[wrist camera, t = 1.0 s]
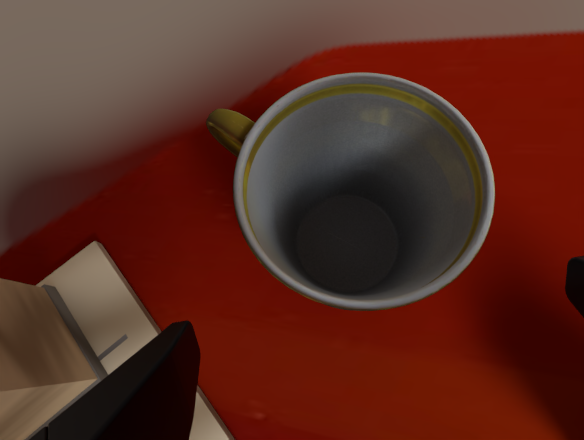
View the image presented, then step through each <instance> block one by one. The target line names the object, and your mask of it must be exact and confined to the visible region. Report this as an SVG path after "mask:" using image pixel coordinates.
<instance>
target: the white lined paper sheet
mask: <svg viewBox="0 0 584 440" xmlns="http://www.w3.org/2000/svg"><path fill="white" fill-rule="evenodd" d="M44 284H45V285H50V286H54V287H56V289H57V291H58V292H59V294H60V296H61V297H62V299H63V301H64V302H65V304H66V306H67V307H68V309H69V311H70V312H71V314H72V316H73V317H74V319H75V321H76V322H77V324H78V326H79V327H80V329H81V330H82V332H83V334H84V335H85V337H86V339H87V340H88V342H89V344H90V345H91V347H92V349H93V350H94V352H95V354H96V355H97V357H98V359H99V360H100V362H101V364H102V365H103V367H104V369H105V370H106V372H107V374H108V375H109V374H110V373H111V372H113V371H114V370H115V369H116V368H118V367H119V366H120V365H121V364H122V363H124V362H125V361H126V360H127V359H129V358H130V357H131V356H132V355H134V354H135V353H136V352H137V351H139V350H140V349H141V348H142V347H143V346H145V345H146V344H147V343H148V342H150V341H151V340H152V339H153V338H155V337H156V336H157V335H158V334H160V333H161V330H160V329H159V327H158V326H157V325H156V323H155V322H154V320H153V319H152V317H151V316H150V314H149V313H148V311H147V310H146V308H145V307H144V305H143V304H142V303H141V301H140V300H139V298H138V297H137V295H136V294H135V292H134V291H133V289H132V288H131V286H130V285H129V283H128V282H127V281H126V279H125V278H124V276H123V275H122V273H121V272H120V270H119V269H118V267H117V266H116V264H115V263H114V261H113V260H112V259H111V257H110V256H109V254H108V253H107V251H106V250H105V248H104V247H103V245H102V244H101V243H99V242H97V241H93V242H92V243H91V244H90V245H88V246H87V247H86V248H84V249H83V250H82V251H80V252H79V253H78V254H76V255H75V256H74V257H72V258H71V259H70V260H68V261H67V262H66V263H65V264H63V265H62V266H61V267H59V268H58V269H57V270H55V271H54V272H53V273H51V274H50V275H49V276H47V277H46V278H45V279H44V280H42V281H41V282H40V283H38V284H37V285H36V286H38V287H41V286H42V285H44ZM189 440H235V439H234V438H233V436H232V435H231V433H230V432H229V430H228V429H227V427H226V426H225V424H224V423H223V421H222V420H221V418H220V417H219V416H218V414H217V413H216V411H215V410H214V408H213V407H212V405H211V404H210V402H209V401H208V399H207V398H206V396H205V395H204V394H203V392H202V391H201V389H200V388H199V386H198V385H197V393H196V402H195V411H194V418H193V423H192V428H191V433H190V437H189Z"/></svg>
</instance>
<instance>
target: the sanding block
mask: <svg viewBox="0 0 584 440" xmlns="http://www.w3.org/2000/svg"><path fill="white" fill-rule="evenodd" d="M106 376H108V374H107V372H106V370H105V369H104V367H103V365H102V364H101V362H100V360H99V359H98V357H97V355H96V354H95V352H94V350H93V349H92V347H91V345H90V344H89V342H88V340H87V339H86V337H85V335H84V334H83V332H82V330H81V329H80V327H79V326H78V324H77V322H76V321H75V319H74V317H73V316H72V314H71V312H70V311H69V309H68V307H67V306H66V304H65V302H64V301H63V299H62V297H61V296H60V294H59V292H58V291H57V289H56V287H54V286H50V285H45V284H44V285H42V286H41V287H38V286H33V285H29V284H24V283H20V282H15V281H11V280H6V279H1V278H0V440H29V439H30V438H31V437H32V436H33V435H35V434H36V433H37V432H38V431H40V430H41V429H42V428H43V427H45V426H47V427H48V424H49V423H50V422H51V421H52V420H53V419H55V418H56V417H57V416H58V415H59V414H61V413H62V412H63V411H64V410H66V409H67V408H68V407H69V406H71V405H72V404H73V403H74V402H76V401H77V400H78V399H79V398H80V397H82V396H83V395H84V394H85V393H87V392H88V391H89V390H90V389H92V388H93V387H94V386H95V385H97V384H98V383H99V382H100V381H101V380H103V379H104V378H105V377H106Z"/></svg>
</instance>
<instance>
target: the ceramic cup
mask: <svg viewBox="0 0 584 440" xmlns="http://www.w3.org/2000/svg"><path fill="white" fill-rule="evenodd" d="M206 125H207V128H208V130H209V131H210V133H211V134H212V135H213V137H214V138H215V139H216V140H217V141H218V142H219V143H220V144H222V145H223V146H224V147H225V148H226V149H228V150H229V151H230V152H231V153H233V154H234V155H235V156H236V157H238V158H237V161H236V166H235V171H234V180H233V200H234V206H235V212H236V216H237V220H238V223H239V226H240V229H241V231H242V234H243V236H244V238H245V240H246V242H247V244H248V245H249V247H250V249H251V251H252V252H253V254H254V255H255V256H256V258H257V259H258V260H259V261H260V263H261V264H262V265H263V266H264V267H265V268H266V269H267V270H268V271H269V272H270V273H271V274H272V275H273V276H274V277H275V278H277V279H278V280H279V281H280V282H282V283H283V284H284V285H286V286H287V287H288V288H290V289H292V290H294V291H295V292H297V293H299V294H301V295H303V296H304V297H307V298H309V299H311V300H314V301H316V302H319V303H322V304H325V305H328V306H331V307H335V308H339V309H344V310H357V311H373V310H385V309H391V308H396V307H400V306H405V305H408V304H411V303H414V302H417V301H419V300H422V299H424V298H426V297H428V296H430V295H432V294H434V293H436V292H437V291H439V290H441V289H442V288H444V287H445V286H447V285H448V284H449V283H451V282H452V281H453V280H454V279H456V278H457V277H458V276H459V275H460V274H461V273H462V272H463V271H464V270H465V269H466V267H467V266H468V265H469V264H470V263H471V261H472V260H473V259H474V257H475V256H476V254H477V253H478V252H479V250H480V248H481V246H482V244H483V242H484V240H485V238H486V235H487V233H488V230H489V228H490V224H491V220H492V216H493V212H494V201H495V185H494V177H493V171H492V168H491V164H490V161H489V157H488V155H487V152H486V150H485V147H484V145H483V143H482V142H481V140H480V138H479V136H478V135H477V133H476V132H475V130H474V129H473V127H472V126H471V124H470V123H469V122H468V121H467V120H466V119H465V118H464V116H463V115H462V114H461V113H460V112H459V111H458V110H457V109H456V108H454V107H453V106H452V105H451V104H450V103H449V102H447V101H446V100H445V99H443V98H442V97H441V96H439V95H437V94H435V93H434V92H432V91H430V90H429V89H427V88H425V87H423V86H420V85H418V84H416V83H413V82H411V81H408V80H405V79H401V78H398V77H394V76H390V75H383V74H377V73H347V74H338V75H333V76H328V77H324V78H321V79H317V80H314V81H312V82H309V83H307V84H304V85H302V86H300V87H298V88H296V89H294V90H293V91H291V92H289V93H288V94H286V95H284V96H283V97H281V98H280V99H279V100H278V101H276V102H275V103H274V104H273V105H272V106H270V107H269V108H268V109H267V110H266V111H265V112H264V113H263V115H262V116H261V117H260V118H259V119H258V120H257V122H256V123H255V122H253V121H252V120H250V119H249V118H247V117H245V116H243V115H242V114H240V113H237V112H235V111H231V110H227V109H217V110H215V111H213V112H212V113H211V114H210V115H209V117H208V118H207V121H206Z"/></svg>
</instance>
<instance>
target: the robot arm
mask: <svg viewBox="0 0 584 440" xmlns="http://www.w3.org/2000/svg"><path fill="white" fill-rule="evenodd" d="M565 291H566V295H567V297H568V299H569V300H570V302H571V303H572V304H573V305H574V306H575V308H576V309H577V310H578V311H579V313H580V314H581V315H582V316H583V318H584V256H579V257H574V258H571V259H570V260H569V262H568V265H567V275H566V286H565ZM199 365H200V349H199V345H198V342H197V339H196V336H195V332H194V329H193V326H192V324H191V322H189V321H181V322H175V323H172V324H171V325H169V326H168V327H167V328H166V329H164V330H163V331H162V332H161V333H160V334H158V335H157V336H156V337H155V338H153V339H152V340H151V341H150V342H148V343H147V344H146V345H145V346H143V347H142V348H141V349H140V350H139V351H137V352H136V353H135V354H134V355H132V356H131V357H130V358H129V359H127V360H126V361H125V362H124V363H122V364H121V365H120V366H119V367H118V368H116V369H115V370H114V371H113V372H111V373H110V374H109V375H108V376H106V377H105V378H104V379H103V380H101V381H100V382H99V383H98V384H97V385H95V386H94V387H93V388H92V389H90V390H89V391H88V392H87V393H85V394H84V395H83V396H82V397H80V398H79V399H78V400H77V401H76V402H74V403H73V404H72V405H71V406H69V407H68V408H67V409H66V410H64V411H63V412H62V413H61V414H59V415H58V416H57V417H56V418H55V419H53V420H52V421H51V422H50V423H49V424H48V427H47V426H45V427H43V428H42V429H41V430H40V431H38V432H37V433H36V434H35V435H33V436H32V437H31V438H30V439H29V440H189V437H190V433H191V428H192V423H193V418H194V411H195V402H196V393H197V384H198V375H199Z"/></svg>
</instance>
